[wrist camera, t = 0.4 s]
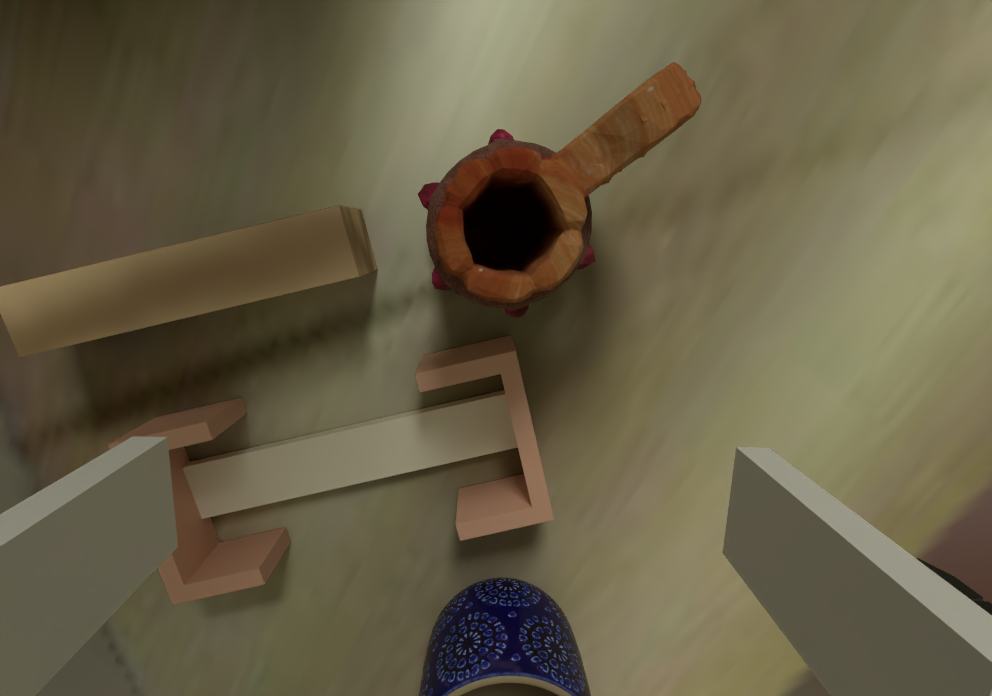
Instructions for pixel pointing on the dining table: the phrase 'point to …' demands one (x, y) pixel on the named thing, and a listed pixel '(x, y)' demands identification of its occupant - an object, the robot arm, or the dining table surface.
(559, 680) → the planter
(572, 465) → the dining table surface
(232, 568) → the endcap rail
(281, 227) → the tan wooden beam
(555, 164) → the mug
